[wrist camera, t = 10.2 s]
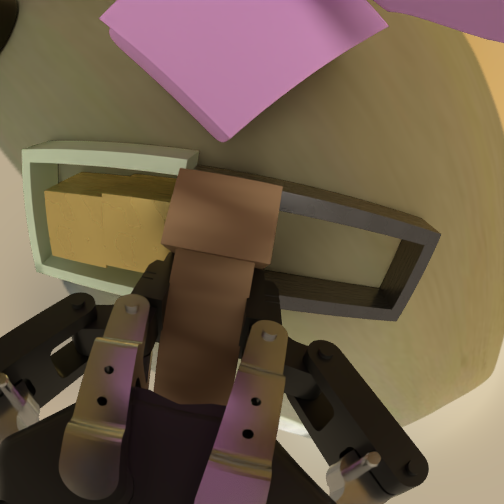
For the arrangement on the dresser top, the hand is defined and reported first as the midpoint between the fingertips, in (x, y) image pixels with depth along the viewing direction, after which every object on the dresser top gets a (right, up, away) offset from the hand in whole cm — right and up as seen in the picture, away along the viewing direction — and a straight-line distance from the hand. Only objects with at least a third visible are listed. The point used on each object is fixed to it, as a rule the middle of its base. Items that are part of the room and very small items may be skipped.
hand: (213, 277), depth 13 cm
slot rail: (+5, +2, +4) cm, 7 cm away
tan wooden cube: (-4, +4, +3) cm, 6 cm away
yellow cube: (-8, +4, +3) cm, 9 cm away
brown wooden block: (+1, +4, -1) cm, 4 cm away
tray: (-7, +4, +3) cm, 9 cm away
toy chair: (+2, +12, -1) cm, 12 cm away
